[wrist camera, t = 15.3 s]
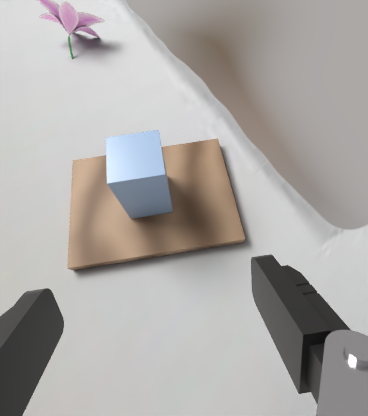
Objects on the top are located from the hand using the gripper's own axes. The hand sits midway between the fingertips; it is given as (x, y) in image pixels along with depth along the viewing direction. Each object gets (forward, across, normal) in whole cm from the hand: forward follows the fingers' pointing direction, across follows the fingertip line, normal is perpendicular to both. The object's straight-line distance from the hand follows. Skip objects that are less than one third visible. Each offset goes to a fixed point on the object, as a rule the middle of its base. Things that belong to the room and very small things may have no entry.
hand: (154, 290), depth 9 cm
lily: (+51, +14, -23) cm, 58 cm away
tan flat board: (+24, +2, +4) cm, 24 cm away
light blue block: (+23, +2, +3) cm, 23 cm away
